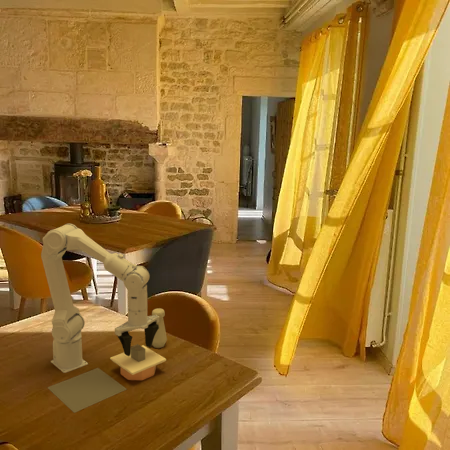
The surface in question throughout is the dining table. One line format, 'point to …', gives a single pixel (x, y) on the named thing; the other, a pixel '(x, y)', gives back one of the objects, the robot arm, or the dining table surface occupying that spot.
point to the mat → (86, 389)
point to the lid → (138, 359)
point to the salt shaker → (160, 335)
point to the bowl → (138, 374)
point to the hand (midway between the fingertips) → (138, 350)
